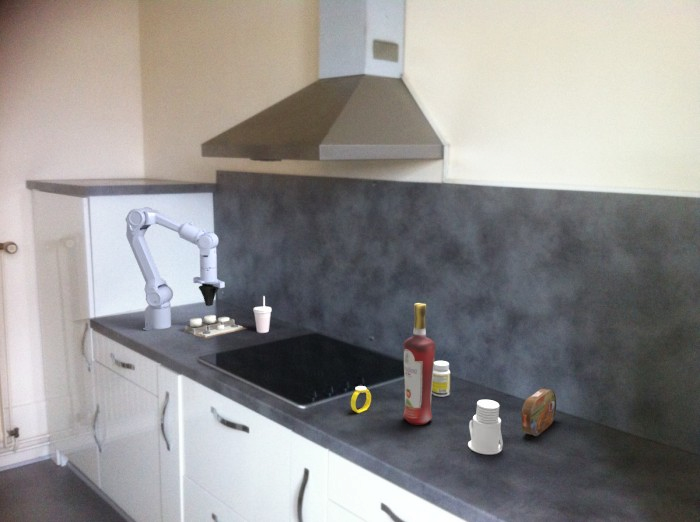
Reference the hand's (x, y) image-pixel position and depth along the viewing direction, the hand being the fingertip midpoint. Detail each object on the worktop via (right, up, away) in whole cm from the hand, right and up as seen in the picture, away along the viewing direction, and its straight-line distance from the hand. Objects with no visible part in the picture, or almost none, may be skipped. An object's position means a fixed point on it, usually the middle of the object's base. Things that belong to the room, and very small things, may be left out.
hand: (209, 305), depth 227 cm
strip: (+5, -9, -3) cm, 10 cm away
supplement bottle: (+73, -19, -58) cm, 95 cm away
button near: (-4, -7, -4) cm, 8 cm away
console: (+2, -10, 0) cm, 10 cm away
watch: (+52, -21, -69) cm, 89 cm away
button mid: (0, -6, +1) cm, 6 cm away
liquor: (+65, -22, -76) cm, 102 cm away
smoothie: (+19, -11, -2) cm, 22 cm away
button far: (+4, -7, +6) cm, 10 cm away
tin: (+93, -23, -79) cm, 124 cm away
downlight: (+78, -24, -89) cm, 121 cm away
